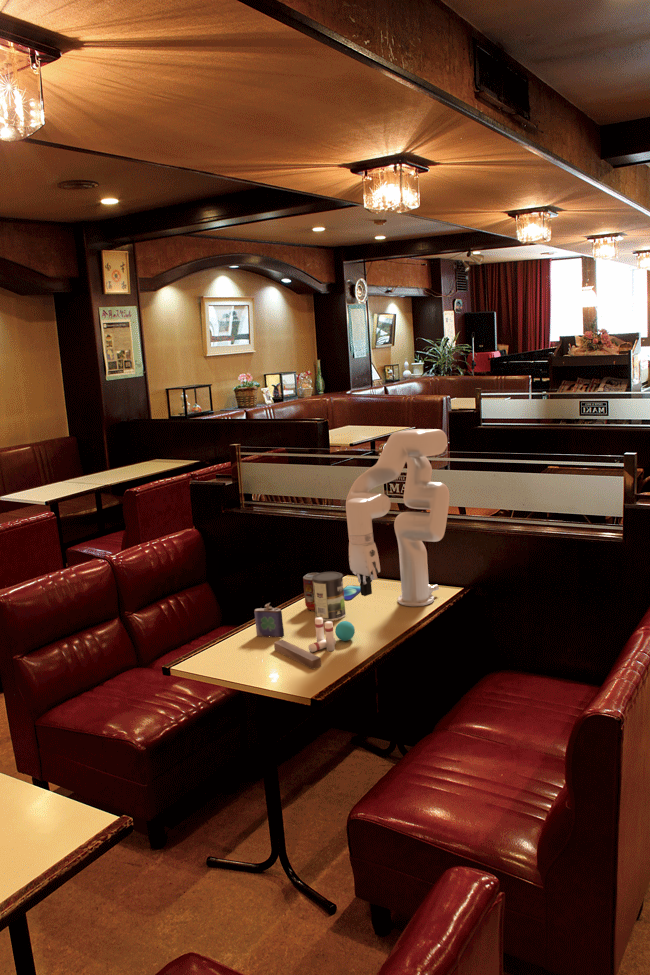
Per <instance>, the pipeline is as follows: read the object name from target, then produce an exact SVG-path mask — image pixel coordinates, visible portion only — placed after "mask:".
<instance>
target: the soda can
mask: <svg viewBox="0 0 650 975" xmlns="http://www.w3.org/2000/svg"><path fill="white" fill-rule="evenodd" d="M318 573H319V572H308V573H307V574H305V575H304V576H303V577H302V581H303V592H304V605H305V607H306V608H307V610H308V611H309V610H311V611H310V612H316V611H315V600H314V589H313V580H312V576H314V575H316V574H318Z"/></svg>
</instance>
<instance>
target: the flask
mask: <svg viewBox="0 0 650 975" xmlns="http://www.w3.org/2000/svg"><path fill="white" fill-rule="evenodd" d="M270 604H271V602H268V603H266V604H265V605H264V608H262V607H260V608H255V609H254V610H253V611H254V620H255V631H256V637H259V638H276V637H277V638H278V637H281V638H284V637H285V628H284V621H283V612H282V609H281V608H278V607H272V606H271V605H270ZM269 636H270V637H269ZM283 636H284V637H283Z"/></svg>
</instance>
